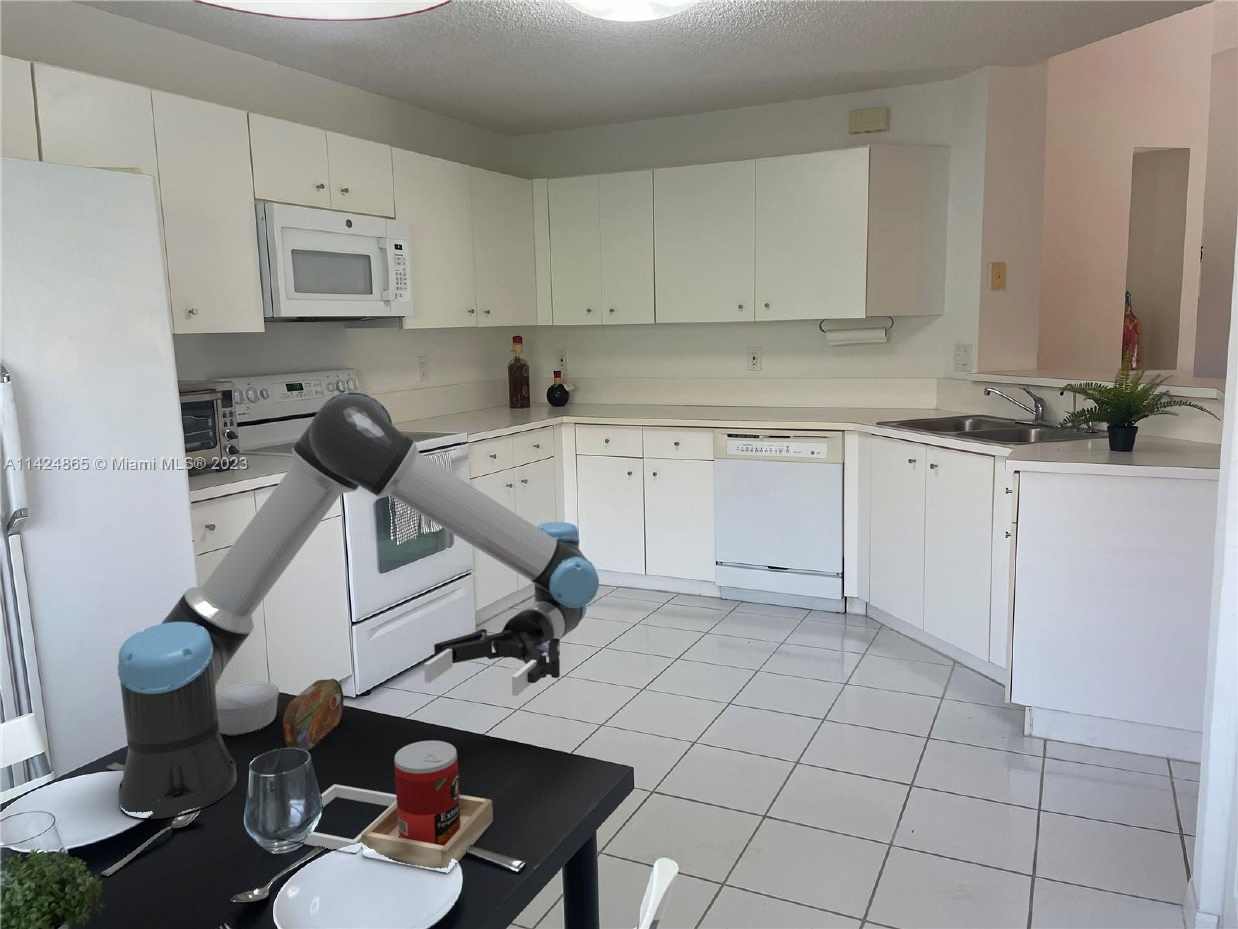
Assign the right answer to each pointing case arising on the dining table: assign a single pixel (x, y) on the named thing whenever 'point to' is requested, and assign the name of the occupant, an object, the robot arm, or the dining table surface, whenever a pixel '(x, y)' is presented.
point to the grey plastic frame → (352, 794)
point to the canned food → (427, 792)
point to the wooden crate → (387, 843)
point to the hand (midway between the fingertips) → (469, 679)
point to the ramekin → (246, 707)
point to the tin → (313, 714)
